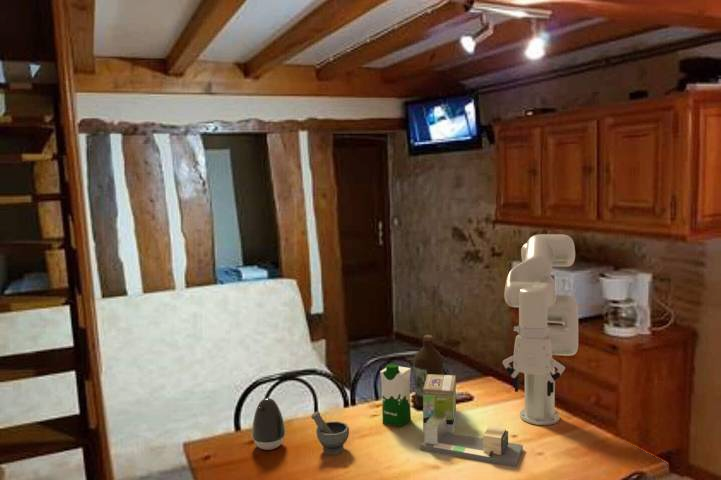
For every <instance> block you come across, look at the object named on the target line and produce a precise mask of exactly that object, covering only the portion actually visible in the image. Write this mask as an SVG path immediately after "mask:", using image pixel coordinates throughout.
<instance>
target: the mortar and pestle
mask: <svg viewBox="0 0 721 480" xmlns="http://www.w3.org/2000/svg"><path fill="white" fill-rule="evenodd" d="M310 417H311V419H312V420H314V423H315V424H316V431H315V432H316V437H317V439H318V440H319V443H320V445H321V446H322V451H323V452H324V454H327V455H338V454H341V453H342V452H344V450H345V448H344V445H345V444H346V442H347V440H348V439H349V437H350V436H349V435H350V426H349V425H348V423H345V422H342V421H337V420H335V421H334V420H333V421H325V420H324V419H323V417H322V416H321V413H320V412H319V411H315V412H313V413H312V414H311V416H310Z"/></svg>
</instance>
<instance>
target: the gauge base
mask: <svg viewBox="0 0 721 480" xmlns="http://www.w3.org/2000/svg"><path fill="white" fill-rule="evenodd" d="M523 447H524V445H523V444H519V443H513V442H508V446H507V448H506V450H505V452H504V453H502V454H501V455H498V454H492V456H491V457H490V456H489V454H490V453H486V452H483V437H482V438H481V437H477V436H476V437H475V436H471V435H466V434H460V433H458V434H457V433H454V432H453V433H447V434H446V435H445V437H444V438H443V439H442V441H441V442H440V443H439V445H438V446H435V445H434V446H433V445H428V444H425V439H424V440H423V441H422V442H421V444H420V451H426V452H431V453H437V454H443V455H449V456H452V457H453V456H454V457H460V458H466V459H469V460H477V461H481V462H486V463H491V464H492V463H493V464H497V465H504V466H509V467H510V466H511V467H514V468H515V467H517V464H518V462H519V460H520V457H521V455H522V453H523V450H524V449H523Z"/></svg>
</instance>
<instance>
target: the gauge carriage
mask: <svg viewBox="0 0 721 480" xmlns="http://www.w3.org/2000/svg"><path fill="white" fill-rule="evenodd" d="M482 436H483V437H482V438H483V452H486V453H490V454H489V456H490V457H491V456H492V454H498V455H501V454H502V453H504V452H505V450H506V448H507V446H508V443H509V431H508V430H507V428H506V427H498V426H493V425H488V426H487V429H486V430H485V432H484V433H483V435H482Z"/></svg>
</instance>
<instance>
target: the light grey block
mask: <svg viewBox="0 0 721 480" xmlns="http://www.w3.org/2000/svg"><path fill="white" fill-rule="evenodd" d="M423 434H424V440H425V444H428V445H433V446H434V445H435V446H438V445H439V443H440V442H441V441H442V439H443V438H444V437H445V435H446V434H447V431H446V415H441V414H433V415H432V416H431V417H430V419H429V420H428V421H427V422H426V423H425V425H424V433H423Z"/></svg>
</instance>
